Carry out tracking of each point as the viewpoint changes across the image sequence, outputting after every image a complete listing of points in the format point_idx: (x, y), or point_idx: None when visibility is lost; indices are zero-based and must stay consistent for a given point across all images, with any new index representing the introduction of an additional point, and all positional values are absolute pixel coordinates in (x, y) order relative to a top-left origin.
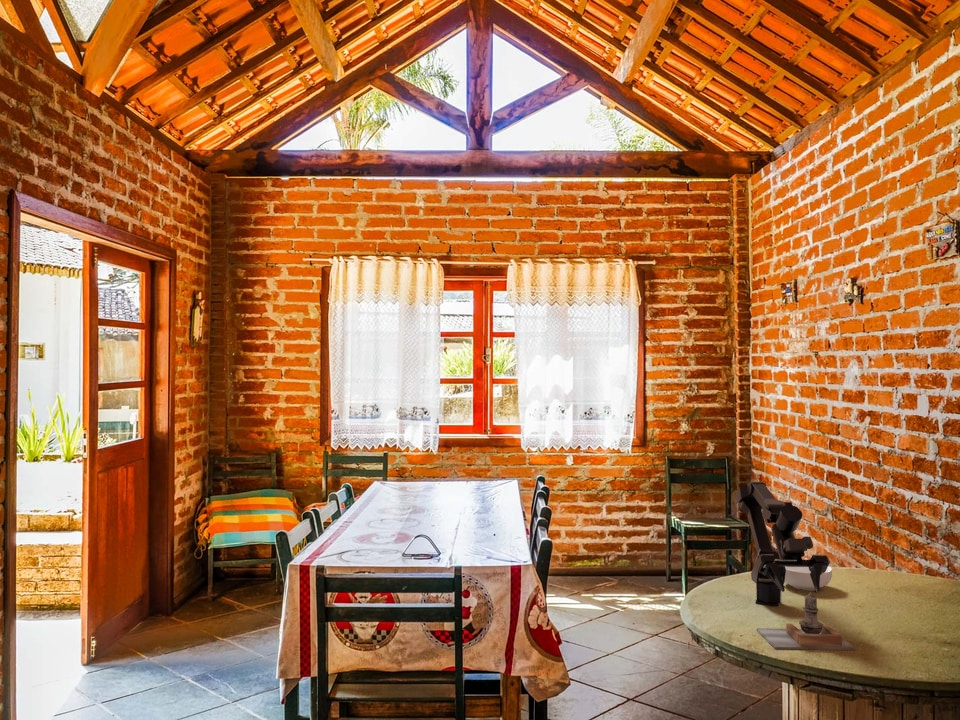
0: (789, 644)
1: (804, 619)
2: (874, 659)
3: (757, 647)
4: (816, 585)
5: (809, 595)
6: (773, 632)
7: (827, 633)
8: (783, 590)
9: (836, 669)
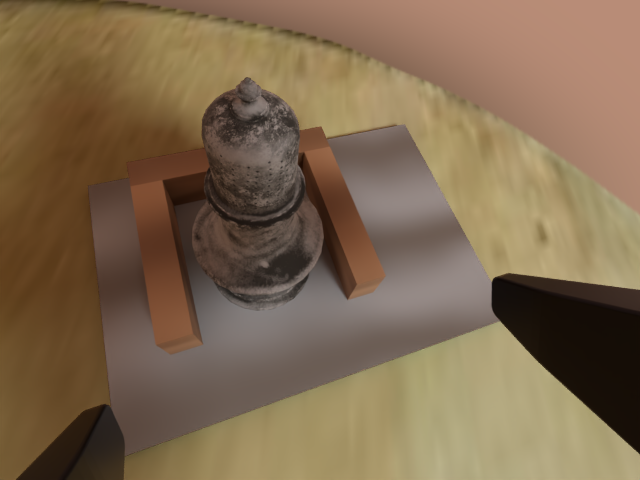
0: (355, 155)
1: (296, 214)
2: (51, 119)
3: (456, 131)
4: (86, 453)
5: (262, 96)
6: (429, 279)
7: (179, 253)
8: (501, 276)
9: (220, 27)
